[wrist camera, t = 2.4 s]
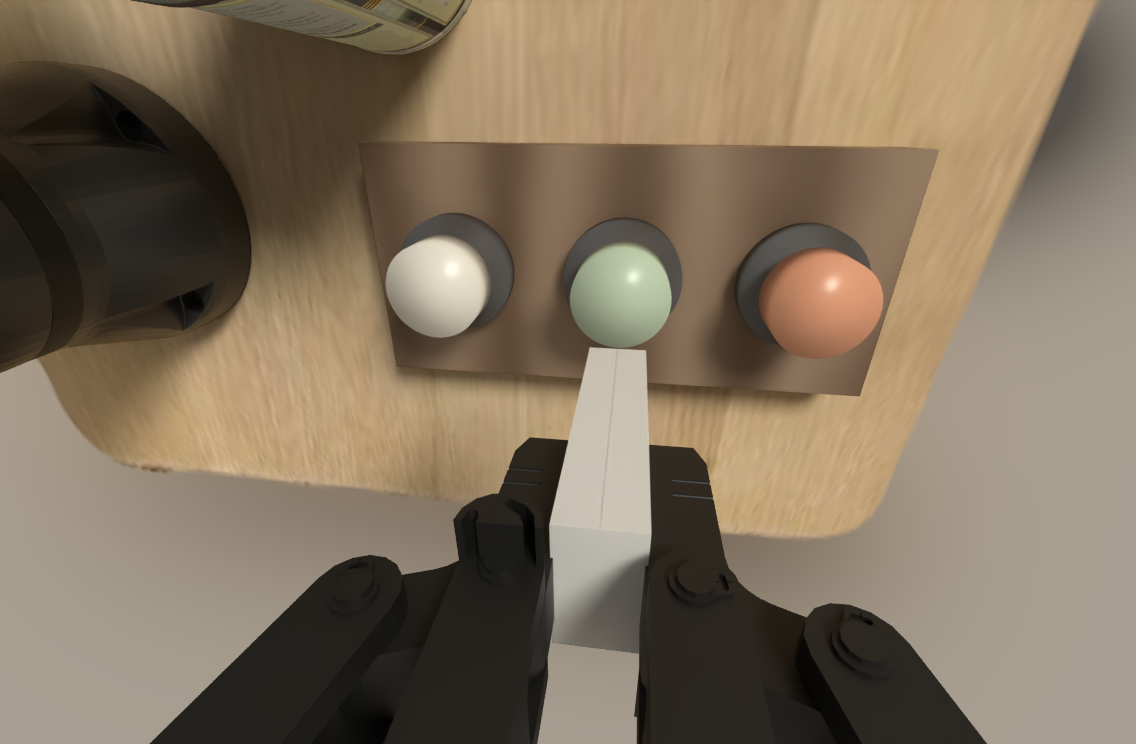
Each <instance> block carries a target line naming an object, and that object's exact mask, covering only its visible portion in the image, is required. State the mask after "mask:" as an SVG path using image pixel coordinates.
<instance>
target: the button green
mask: <svg viewBox="0 0 1136 744" xmlns="http://www.w3.org/2000/svg"><path fill="white" fill-rule="evenodd" d="M671 300H672V297H671V289H670V284H669V280H668V275H667V272H666V269H665V267H664V265H663V263H662V261H661V260H660V259H659V257H658V256H657V255H656V254H655V253H654V252H653V251H651V250H650V249H649V248H647V247H645V246H643V245H641V244H638V243H635V242H631V241H614V242H610V243H607V244H604V245H602V246H600V247H598V248H596V249H595V250H593V251H592V252H591V253H590V254H589V255H588V256H587V257H586V258H585V259H584V261H583V262H582V264H581V265H580V267H579V269H578V272H577V274H576V277H575V279H574V282H573V285H572V288H571V292H570V307H571V312H572V315H573V318H574V320H575V322H576V323H577V325H578V326H579V328H580V329H581V330H582V331H583V333H584V334H586V335H587V336H588V337H589V338H591V339H592V340H594V341H595V342H597V343H599V344H602V345H605V346H609V347H615V348H626V347H632V346H636V345H639V344H641V343H644V342H645V341H647V340H649V339H650V338H652V337H653V336H654V335H655V334H656V333H658V332H659V330H660V329H661V328H662V327H663V325H664V324H665V322H666V320H667V318H668V316H669V312H670V309H671Z"/></svg>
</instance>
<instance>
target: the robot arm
mask: <svg viewBox="0 0 1136 744" xmlns="http://www.w3.org/2000/svg"><path fill="white" fill-rule="evenodd" d="M249 266H250V240H249V232H248V227H247V222H246V218H245V214H244V211H243V208H242V205H241V202H240V200H239V197H238V195H237V192H236V190H235V188H234V186H233V184H232V182H231V180H230V178H229V176H228V174H227V172H226V170H225V169H224V167H223V165H222V164H221V162H220V161H219V159H218V158H217V156H216V154H215V153H214V152H213V150H212V149H211V148H210V146H209V145H208V144H207V142H206V141H205V140H204V139H203V137H202V136H201V135H200V134H199V133H198V132H197V130H196V129H195V128H194V127H193V126H192V125H191V124H190V123H189V122H188V121H187V120H186V119H185V118H184V117H183V116H182V115H181V114H180V113H179V112H178V111H176V110H175V109H174V108H173V107H172V106H171V105H169V104H168V103H167V102H166V101H164V100H163V99H162V98H160V97H159V96H157V95H156V94H155V93H153V92H152V91H150V90H148V89H147V88H145V87H144V86H142V85H140V84H138V83H136V82H135V81H133V80H131V79H128V78H126V77H124V76H122V75H119V74H117V73H114V72H111V71H108V70H105V69H101V68H96V67H91V66H83V65H74V64H65V63H56V62H44V61H32V62H19V63H13V64H8V65H4V66H1V67H0V373H1V372H4V371H6V370H9V369H11V368H14V367H16V366H18V365H21V364H23V363H25V362H28V361H30V360H33V359H36V358H38V357H41V356H43V355H46V354H49V353H51V352H54V351H56V350H59V349H62V348H66V347H75V346H86V345H97V344H107V343H118V342H129V341H140V340H150V339H161V338H168V337H172V336H176V335H180V334H183V333H186V332H189V331H191V330H193V329H196V328H198V327H200V326H202V325H204V324H207V323H209V322H211V321H213V320H215V319H217V318H219V317H220V316H222V315H223V314H225V313H226V312H227V311H228V310H229V309H230V308H231V307H232V306H233V305H234V304H235V303H236V301H237V300H238V298H239V297H240V295H241V293H242V291H243V289H244V286H245V284H246V280H247V277H248V272H249ZM453 521H454V528H455V535H456V542H457V549H458V556H459V561H457V562H455V563H453V564H450V565H448V566H445V567H442V568H438V569H434V570H428V571H423V572H416V573H410V574H405V575H401V572H400V570H399V568H398V566H397V564H395V563H394V562H392V561H390V560H389V559H387V558H386V557H380V556H373V555H368V556H362V557H356V558H352V559H349V560H347V561H345V562H342V563H340V564H338V565H335V566H334V567H332V568H331V569H330V570H328V571H327V572H326V573H325V574H324V575H322V576H321V577H319V578H318V579H317V580H316V581H315V582H314V583H313V584H312V585H311V586H310V587H309V588H308V589H307V590H306V591H305V592H304V593H303V594H302V595H301V596H300V597H299V598H298V599H297V600H296V601H295V602H294V603H293V604H292V605H291V606H290V607H289V608H288V609H287V610H286V611H285V612H283V613H282V614H281V616H279V617H278V618H277V619H276V620H275V621H274V622H273V623H272V624H271V625H270V626H269V627H268V628H267V629H266V630H265V631H264V632H263V633H262V634H261V635H260V636H259V637H258V638H257V639H256V640H255V641H254V642H253V643H252V644H251V645H250V646H249V647H248V648H247V649H246V650H245V651H244V652H243V653H242V654H241V655H240V656H239V657H238V658H237V659H236V660H235V661H234V662H232V663H231V665H229V666H228V667H227V668H226V669H225V670H224V671H223V672H222V674H220V675H219V676H218V677H217V678H216V679H215V680H214V681H213V682H212V683H211V684H210V685H209V686H208V687H207V688H206V689H205V690H204V691H203V692H202V693H201V694H200V695H199V696H198V697H197V698H196V699H195V700H194V701H193V702H192V703H191V704H190V705H189V706H188V707H187V708H186V709H185V710H184V711H183V712H181V714H179V715H178V717H176V718H175V719H174V720H173V721H172V722H171V723H170V724H169V725H168V726H167V727H166V728H165V729H164V730H163V731H162V732H161V733H160V734H159V735H158V736H157V737H156V738H155V739H154V740H153V741H152V742H151V743H150V744H537V742H538V736H539V730H540V723H541V717H542V711H543V705H544V698H545V693H546V687H547V680H548V651H549V646H550V640H551V635H552V642H553V643H559V644H567V645H575V646H583V647H591V648H599V649H607V650H615V651H623V652H631V653H639V676H638V685H637V695H636V704H635V714H634V716H635V717H637V744H987V743H986V742H985V741H984V740H983V738H982V737H981V735H980V734H979V733H978V732H977V730H976V729H975V728H974V727H973V725H972V724H971V723H970V721H969V720H968V719H967V717H966V716H965V715H964V714H963V712H962V711H961V710H960V708H959V707H958V706H957V704H956V703H955V702H954V701H953V699H952V698H951V697H950V695H949V694H948V693H947V692H946V690H945V689H944V688H943V686H942V685H941V684H940V683H939V681H938V680H937V679H936V677H935V676H934V675H933V673H932V672H931V671H930V670H929V668H928V667H927V666H926V664H925V663H924V662H923V661H922V659H921V658H920V657H919V656H918V654H917V653H916V652H915V650H914V649H913V648H912V646H911V645H910V644H909V643H908V642H907V641H906V640H905V639H904V638H903V637H902V636H901V635H900V634H899V633H898V632H897V631H896V630H895V629H894V628H893V627H892V626H891V625H890V624H888V623H886V622H885V621H883V620H882V619H880V618H879V617H877V616H875V615H874V614H872V613H871V612H868V611H865V610H862V609H860V608H857V607H854V606H851V605H846V604H845V605H844V604H832V603H830V604H826V605H823V606H820V607H817V608H814V610H813V611H812V612H811V613H810V614H809V616H808V617H807V618H806V617H804V616H801V615H798V614H796V613H793V612H791V611H788V610H785V609H783V608H780V607H777V606H775V605H772V604H770V603H768V602H766V601H764V600H762V599H760V598H758V597H757V596H755V595H754V594H752V593H751V592H749V591H748V590H746V589H745V588H744V587H743V586H742V585H741V584H740V583H739V582H738V580H737V578H736V576H735V575H734V573H733V572H732V571H731V570H730V569H729V568H728V565H727V562H726V559H725V555H724V550H723V545H722V540H721V535H720V530H719V525H718V520H717V515H716V510H715V505H714V500H713V495H712V490H711V485H710V480H709V475H708V470H707V465H706V463H705V462H704V461H703V459H702V458H701V457H700V456H699V454H698V453H697V452H696V451H695V450H694V448H685V447H672V446H659V445H649V432H648V398H647V364H646V350H630V349H611V348H591V347H590V349H589V353H588V357H587V362H586V366H585V371H584V375H583V379H582V384H581V388H580V393H579V397H578V401H577V406H576V410H575V414H574V419H573V423H572V428H571V432H570V436H569V440H557V439H543V438H529V439H528V440H527V441H525V442H524V443H523V444H522V445H521V446H520V447H519V448H518V449H517V450H515V453H514V455H513V458H512V461H511V463H510V466H509V470H508V471H507V473H506V476H505V479H504V484H502V486H501V489H500V492H499V494H490V495H487V496H484V497H481V498H477V499H475V500H474V501H472V502H470V503H469V504H467V505H466V506H464V507H463V508H462V509H461V510H460V512H459V513H458V514H457V516H456V517H455V518H454V520H453Z"/></svg>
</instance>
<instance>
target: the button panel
mask: <svg viewBox="0 0 1136 744" xmlns="http://www.w3.org/2000/svg"><path fill="white" fill-rule="evenodd" d="M359 149H360V154H361V160H362V166H363V172H364V178H365V184H366V189H367V195H368V201H369V207H370V213H371V219H372V224H373V230H374V236H375V242H376V248H377V253H378V259H379V265H380V271H381V277H382V283H383V288H384V294H385V300H386V306H387V312H388V317H389V323H390V329H391V335H392V341H393V347H394V352H395V358H396V364H397V367H413V368H428V369H444V370H460V371H475V372H491V373H506V374H522V375H537V376H553V377H568V378H583V375H584V371H585V366H586V362H587V357H588V353H589V349H590V347H591V348H611V349H630V350H646V364H647V383H661V384H677V385H692V386H708V387H724V388H739V389H755V390H770V391H786V392H801V393H817V394H832V395H848V396H860V394H861V391H862V387H863V384H864V381H865V378H866V375H867V372H868V369H869V366H870V363H871V360H872V356H873V353H874V350H875V347H876V344H877V341H878V338H879V335H880V332H881V329H882V326H883V322H884V319H885V316H886V313H887V310H888V307H889V304H890V301H891V298H892V295H893V291H894V288H895V285H896V282H897V279H898V276H899V273H900V270H901V267H902V264H903V260H904V257H905V254H906V251H907V248H908V245H909V242H910V239H911V236H912V233H913V229H914V226H915V223H916V220H917V217H918V214H919V211H920V208H921V205H922V202H923V198H924V195H925V192H926V189H927V186H928V183H929V180H930V177H931V174H932V171H933V167H934V164H935V161H936V158H937V155H938V152H939V150H933V149H920V148H907V147H834V146H745V145H656V144H567V143H478V142H389V141H387V142H370V143H359ZM434 235H449V236H453V237H456V238H459V239H461V240H463V241H465V242H467V243H468V244H470V245H471V246H472V247H473V248H474V249H476V250H477V252H478V253H479V254H480V255H481V256H482V258H483V259H484V261H485V263H486V265H487V267H488V270H489V273H490V277H491V294H490V297H489V300H488V302H487V304H486V306H485V308H484V309H483V310H482V311H481V312H480V314H479V315H478V316H477V317H476V318H475V320H474V321H473V322H472V323H471V324H470V325H469V327H467V328H466V329H465V330H464V331H462V332H461V333H459V334H456V335H454V336H450V337H444V338H438V337H431V336H427V335H424V334H421V333H419V332H417V331H415V330H413V329H412V328H410V327H409V326H408V325H406V324H405V323H404V322H403V321H402V320H401V319H400V318H399V317H398V315H397V314H396V313H395V311H394V310H393V308H392V306H391V304H390V302H389V299H388V296H387V291H386V275H387V271H388V267H389V265H390V263H391V262H392V260H393V259H394V257H395V256H396V255H397V254H398V253H399V252H401V251H402V250H404V249H406V248H407V247H409V246H411V245H413V244H415V243H417V242H419V241H421V240H423V239H425V238H427V237H430V236H434ZM614 241H631V242H635V243H638V244H641V245H643V246H645V247H647V248H649V249H650V250H651V251H653V252H654V253H655V254H656V255H657V256H658V257H659V259H660V260H661V261H662V263H663V265H664V267H665V269H666V272H667V275H668V280H669V284H670V289H671V297H672V300H671V309H670V312H669V316H668V318H667V320H666V322H665V324H664V325H663V327H662V328H661V329H660V330H659V332H658V333H656V334H655V335H654V336H653V337H652V338H650V339H649V340H647V341H645V342H644V343H641V344H639V345H636V346H632V347H626V348H615V347H609V346H605V345H602V344H599V343H597V342H595V341H594V340H592V339H591V338H589V337H588V336H587V335H586V334H584V333H583V331H582V330H581V329H580V328H579V326H578V325H577V323H576V322H575V320H574V318H573V315H572V312H571V307H570V292H571V288H572V285H573V282H574V279H575V277H576V274H577V272H578V269H579V267H580V265H581V264H582V262H583V261H584V259H585V258H586V257H587V256H588V255H589V254H590V253H591V252H592V251H593V250H595V249H596V248H598V247H600V246H602V245H604V244H607V243H610V242H614ZM814 247H824V248H831V249H835V250H838V251H840V252H842V253H844V254H846V255H847V256H849V257H851V258H852V259H854V260H856V261H857V262H859V263H861V264H862V265H864V266H865V267H867V268H868V269H869V270H871V271H872V272H873V274H874V275H875V276H876V277H877V279H878V281H879V282H880V285H881V287H882V292H883V308H882V312H881V315H880V318H879V320H878V322H877V324H876V326H875V327H874V329H873V330H872V332H871V333H870V334H869V335H868V336H867V337H866V338H865V339H864V340H863V341H862V342H861V343H860V344H858V345H857V346H855V347H854V348H852V349H851V350H849V351H847V352H845V353H842V354H840V355H837V356H834V357H829V358H823V359H809V358H803V357H799V356H796V355H794V354H792V353H790V352H788V351H787V350H785V349H784V348H783V347H782V346H781V345H780V344H779V343H778V342H777V341H776V339H775V338H774V336H773V335H772V333H771V332H770V330H769V329H768V327H767V326H766V324H765V322H764V321H763V319H762V317H761V314H760V310H759V294H760V290H761V287H762V284H763V282H764V280H765V278H766V277H767V275H768V274H769V272H770V271H771V270H772V269H773V268H774V267H775V266H776V265H777V264H778V263H779V262H780V261H781V260H783V259H784V258H786V257H787V256H789V255H791V254H793V253H795V252H798V251H800V250H804V249H808V248H814Z"/></svg>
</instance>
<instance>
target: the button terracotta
mask: <svg viewBox="0 0 1136 744" xmlns="http://www.w3.org/2000/svg"><path fill="white" fill-rule="evenodd" d="M882 308H883V292H882V287H881V285H880V282H879V281H878V279H877V277H876V276H875V275H874V274H873V272H872V271H871V270H869V269H868V268H867V267H865V266H864V265H862V264H861V263H859V262H857V261H856V260H854V259H852V258H851V257H849V256H847V255H846V254H844V253H842V252H840V251H838V250H835V249H831V248H824V247H814V248H808V249H804V250H800V251H798V252H795V253H793V254H791V255H789V256H787V257H786V258H784V259H783V260H781V261H780V262H779V263H778V264H777V265H776V266H775V267H774V268H773V269H772V270H771V271H770V272H769V274H768V275H767V277H766V278H765V280H764V282H763V284H762V287H761V290H760V294H759V310H760V314H761V317H762V319H763V321H764V322H765V324H766V326H767V327H768V329H769V330H770V332H771V333H772V335H773V336H774V338H775V339H776V341H777V342H778V343H779V344H780V345H781V346H782V347H783V348H784V349H785V350H787V351H788V352H790V353H792V354H794V355H796V356H799V357H803V358H809V359H823V358H829V357H834V356H837V355H840V354H842V353H845V352H847V351H849V350H851V349H852V348H854V347H855V346H857V345H858V344H860V343H861V342H862V341H863V340H864V339H865V338H866V337H867V336H868V335H869V334H870V333H871V332H872V330H873V329H874V327H875V326H876V324H877V322H878V320H879V318H880V315H881V312H882Z"/></svg>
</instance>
